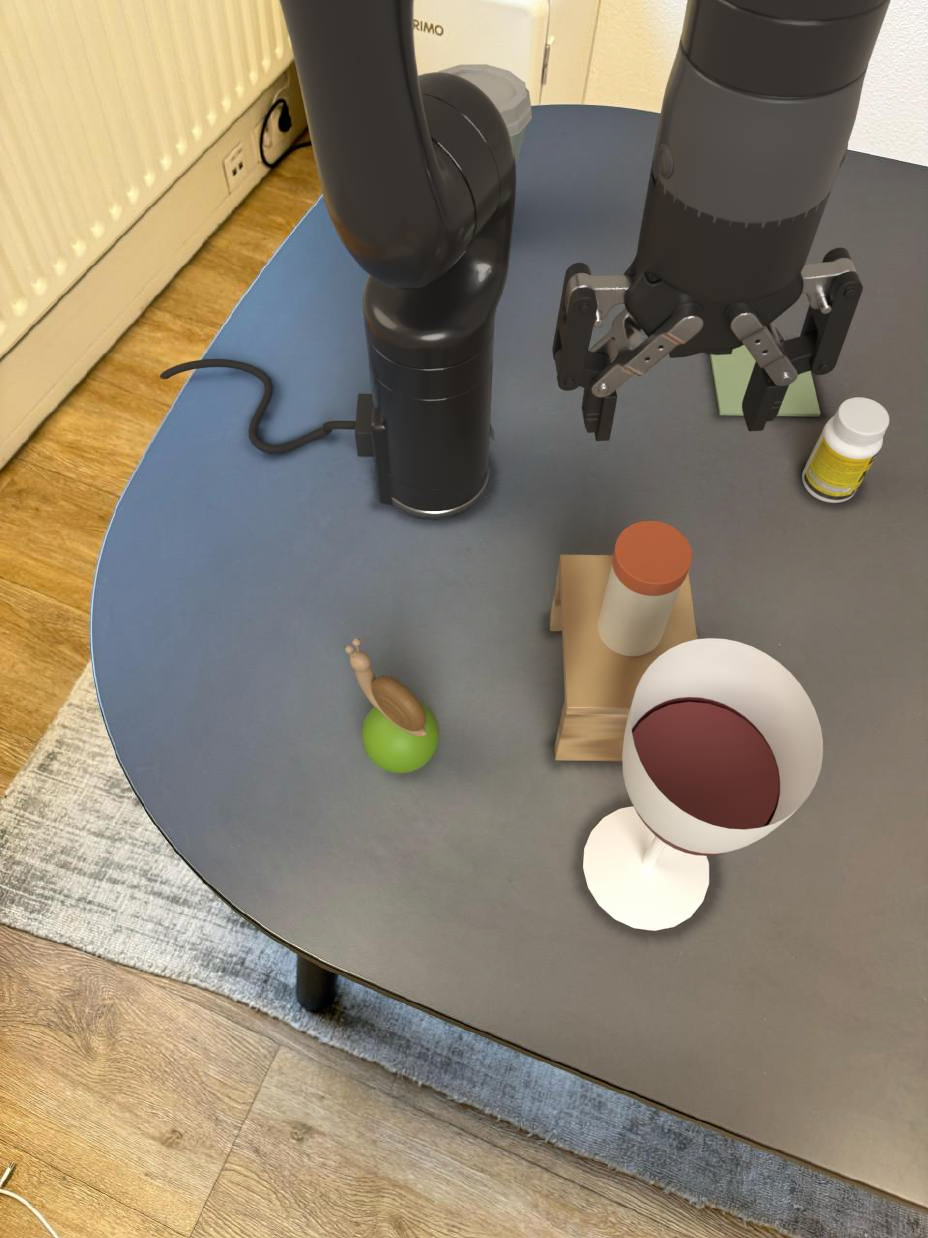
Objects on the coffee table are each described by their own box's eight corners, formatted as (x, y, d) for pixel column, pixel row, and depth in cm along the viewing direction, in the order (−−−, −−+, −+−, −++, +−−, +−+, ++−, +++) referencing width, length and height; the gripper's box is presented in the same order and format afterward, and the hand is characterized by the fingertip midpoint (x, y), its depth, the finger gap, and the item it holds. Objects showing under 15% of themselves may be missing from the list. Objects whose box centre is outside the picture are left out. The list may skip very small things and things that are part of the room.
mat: (719, 415, 87) (720, 412, 87) (708, 343, 92) (709, 340, 91) (819, 416, 87) (820, 413, 87) (802, 344, 92) (804, 341, 91)
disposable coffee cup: (408, 204, 102) (401, 60, 89) (505, 185, 104) (512, 42, 91) (437, 269, 97) (434, 127, 84) (538, 248, 99) (551, 106, 86)
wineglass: (700, 794, 69) (798, 635, 49) (724, 938, 64) (844, 826, 44) (573, 798, 69) (619, 640, 49) (586, 943, 64) (645, 832, 44)
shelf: (554, 760, 70) (567, 707, 63) (549, 618, 76) (560, 553, 69) (678, 762, 70) (706, 709, 63) (663, 620, 76) (687, 555, 69)
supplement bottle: (856, 508, 82) (895, 443, 75) (800, 499, 82) (833, 433, 75) (856, 465, 84) (894, 397, 77) (801, 456, 85) (833, 388, 78)
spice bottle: (597, 657, 64) (617, 583, 57) (594, 598, 67) (612, 519, 59) (667, 658, 64) (696, 584, 57) (660, 599, 67) (688, 520, 59)
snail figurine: (389, 694, 73) (377, 612, 63) (454, 744, 71) (454, 669, 61) (339, 746, 71) (319, 670, 60) (406, 799, 69) (396, 730, 58)
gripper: (886, 96, 42) (784, 368, 56) (563, 112, 42) (540, 383, 56) (943, 205, 38) (818, 469, 52) (587, 225, 38) (556, 485, 52)
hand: (675, 424), depth 54 cm, fingers open, 8 cm apart
